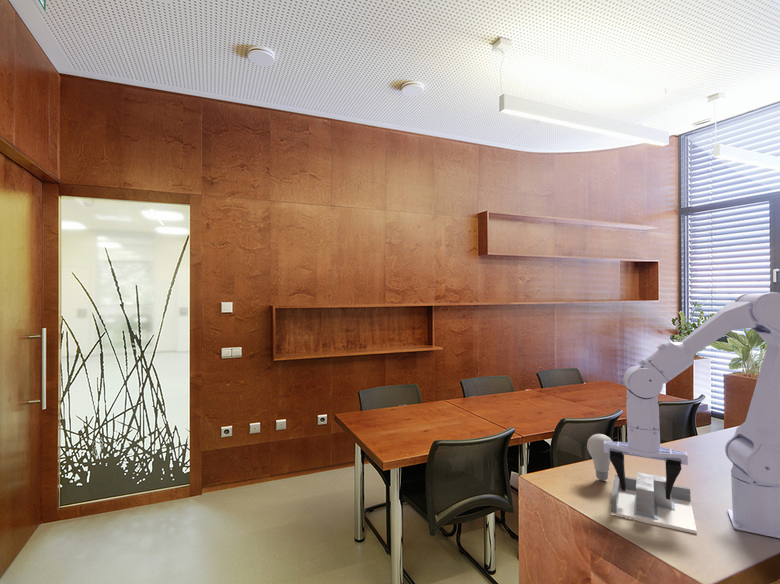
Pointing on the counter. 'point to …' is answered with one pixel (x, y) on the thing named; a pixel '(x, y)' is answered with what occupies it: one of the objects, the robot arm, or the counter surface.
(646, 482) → the bracket
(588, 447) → the lightbulb
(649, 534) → the counter surface
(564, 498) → the counter surface
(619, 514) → the white tray
